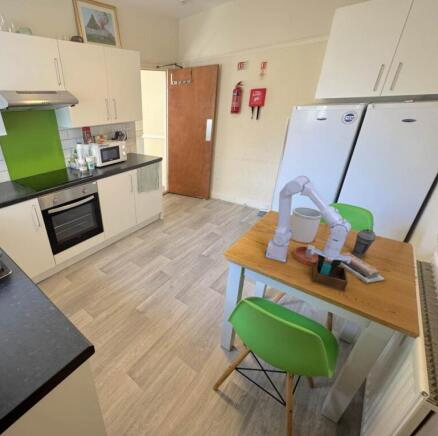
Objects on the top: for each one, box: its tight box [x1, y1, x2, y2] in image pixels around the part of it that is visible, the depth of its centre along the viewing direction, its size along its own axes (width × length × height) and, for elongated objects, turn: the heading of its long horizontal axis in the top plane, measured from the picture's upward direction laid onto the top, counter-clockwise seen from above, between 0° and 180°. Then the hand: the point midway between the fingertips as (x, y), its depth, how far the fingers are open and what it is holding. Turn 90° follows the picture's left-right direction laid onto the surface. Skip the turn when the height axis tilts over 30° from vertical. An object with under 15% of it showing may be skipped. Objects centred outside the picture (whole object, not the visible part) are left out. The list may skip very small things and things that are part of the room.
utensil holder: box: [290, 205, 322, 244], centre depth 140 cm, size 15×15×18 cm
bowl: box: [292, 245, 327, 267], centre depth 125 cm, size 14×14×3 cm
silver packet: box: [305, 244, 316, 258], centre depth 126 cm, size 3×5×5 cm
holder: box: [312, 260, 349, 292], centre depth 110 cm, size 11×11×6 cm
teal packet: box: [320, 259, 332, 275], centre depth 111 cm, size 3×5×5 cm
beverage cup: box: [352, 223, 377, 259], centre depth 122 cm, size 7×7×20 cm
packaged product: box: [339, 251, 385, 284], centre depth 115 cm, size 18×5×10 cm
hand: (324, 270), depth 112 cm, fingers closed on teal packet, 3 cm apart
